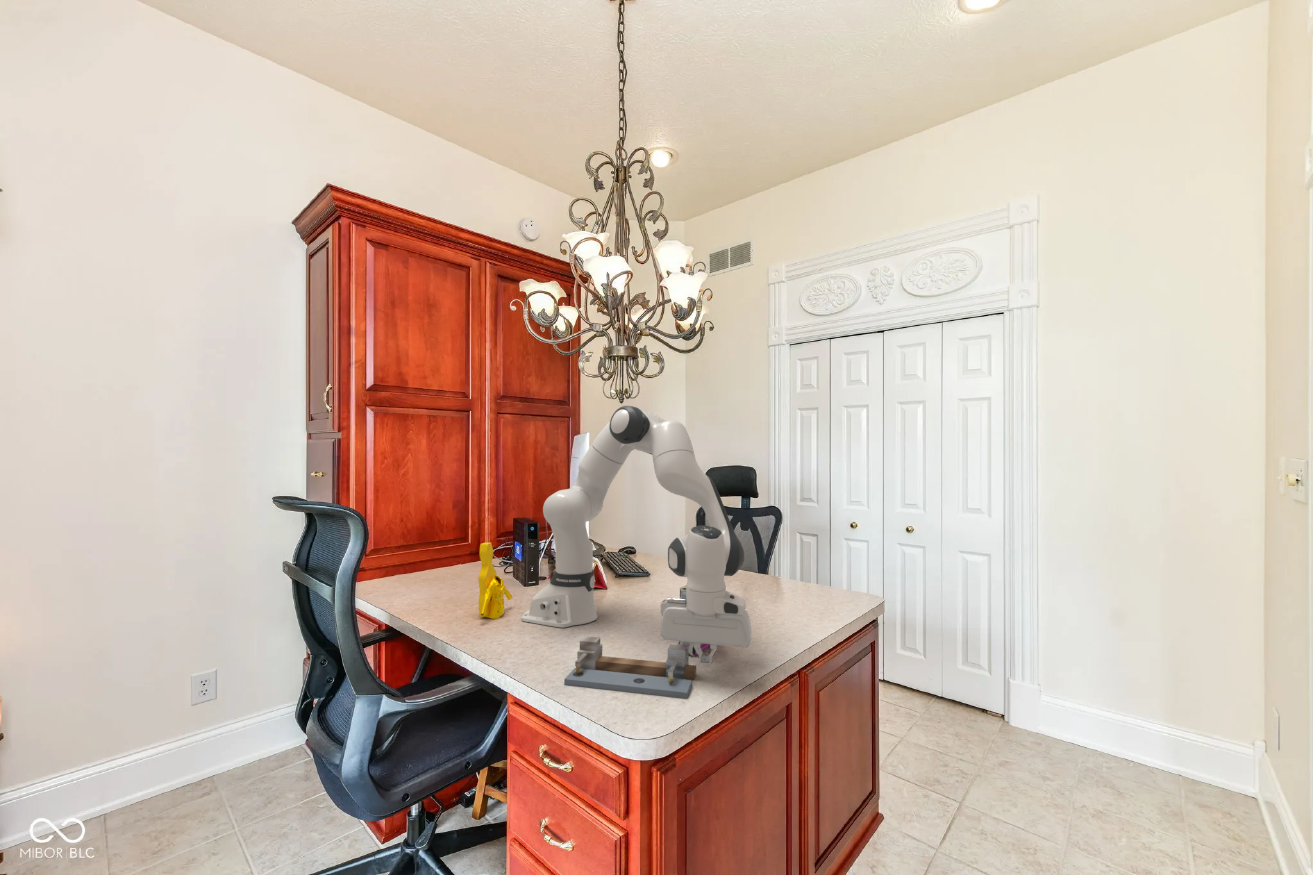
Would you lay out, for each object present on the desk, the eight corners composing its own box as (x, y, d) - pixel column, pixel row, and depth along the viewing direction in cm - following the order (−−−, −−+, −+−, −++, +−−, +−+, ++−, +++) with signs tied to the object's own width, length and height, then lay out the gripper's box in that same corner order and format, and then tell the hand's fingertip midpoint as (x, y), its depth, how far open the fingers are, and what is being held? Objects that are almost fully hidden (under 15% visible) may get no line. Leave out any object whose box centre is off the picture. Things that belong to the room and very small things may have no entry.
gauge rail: (568, 679, 118) (568, 651, 118) (586, 660, 129) (586, 634, 129) (689, 693, 112) (689, 662, 112) (697, 671, 123) (697, 644, 123)
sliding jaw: (661, 688, 114) (661, 660, 114) (671, 667, 124) (671, 641, 124) (679, 690, 113) (679, 662, 113) (688, 669, 123) (688, 643, 123)
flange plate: (564, 684, 116) (564, 678, 116) (574, 673, 122) (574, 667, 122) (686, 698, 110) (687, 692, 110) (691, 685, 116) (691, 679, 116)
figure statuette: (488, 626, 153) (488, 549, 153) (463, 624, 155) (464, 548, 155) (517, 607, 170) (518, 538, 171) (495, 606, 172) (495, 537, 172)
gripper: (657, 600, 119) (657, 663, 119) (750, 607, 114) (750, 672, 114) (663, 593, 125) (663, 652, 125) (752, 599, 120) (752, 661, 120)
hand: (705, 662), depth 120 cm, fingers closed
